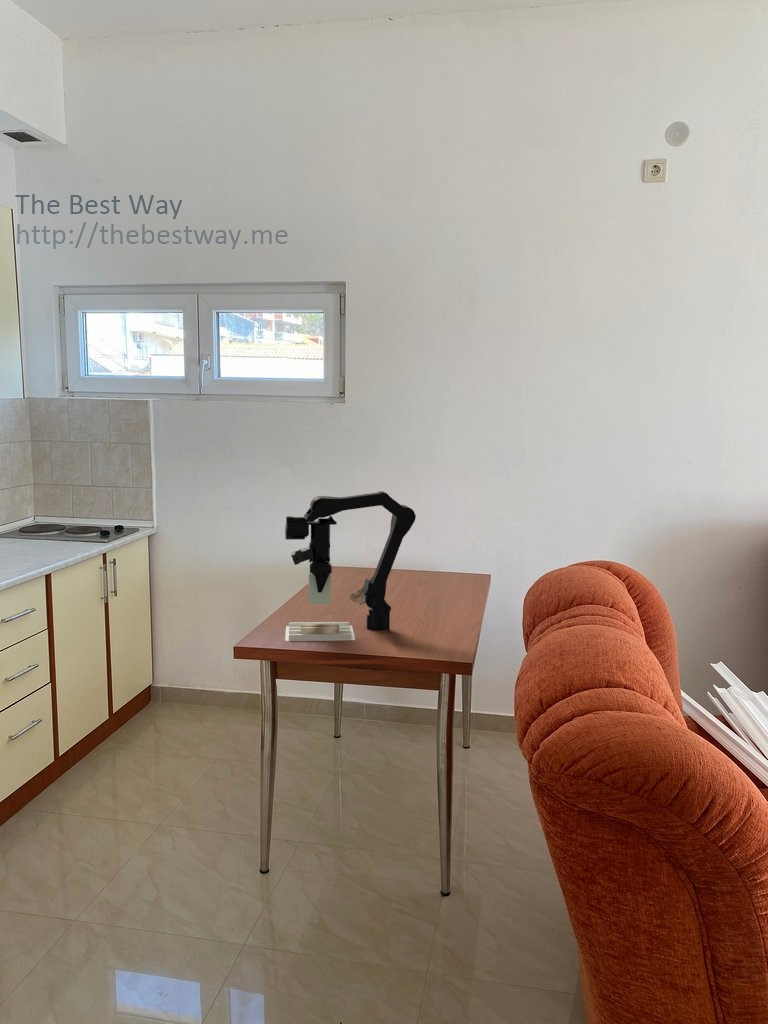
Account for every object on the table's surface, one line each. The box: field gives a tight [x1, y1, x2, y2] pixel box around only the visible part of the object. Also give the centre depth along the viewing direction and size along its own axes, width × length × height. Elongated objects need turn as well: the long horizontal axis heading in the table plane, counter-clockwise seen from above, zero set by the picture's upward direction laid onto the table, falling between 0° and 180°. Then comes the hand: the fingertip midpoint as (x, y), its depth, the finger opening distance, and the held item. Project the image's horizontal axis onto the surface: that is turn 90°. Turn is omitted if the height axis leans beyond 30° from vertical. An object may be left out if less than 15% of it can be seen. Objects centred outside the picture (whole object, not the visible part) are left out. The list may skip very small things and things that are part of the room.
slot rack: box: [284, 621, 356, 642], centre depth 231 cm, size 20×15×2 cm
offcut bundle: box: [301, 624, 339, 634], centre depth 227 cm, size 11×3×4 cm, turn 96°
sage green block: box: [308, 571, 332, 605], centre depth 233 cm, size 6×3×9 cm, turn 96°
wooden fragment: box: [348, 587, 365, 605], centre depth 283 cm, size 26×11×1 cm, turn 164°
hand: (319, 591), depth 233 cm, fingers closed on sage green block, 3 cm apart
